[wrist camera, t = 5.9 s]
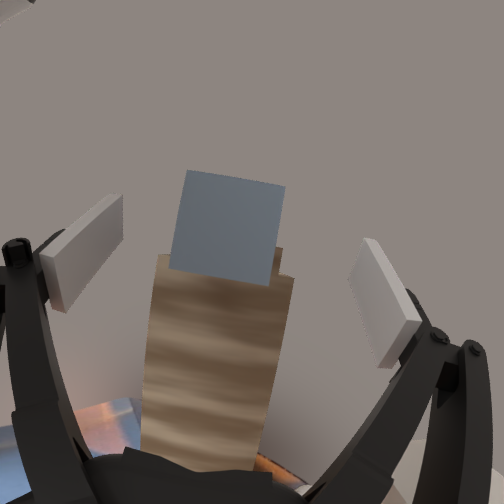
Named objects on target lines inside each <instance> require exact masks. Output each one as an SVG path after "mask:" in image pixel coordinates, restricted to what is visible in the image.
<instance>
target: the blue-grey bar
mask: <svg viewBox="0 0 504 504" xmlns="http://www.w3.org/2000/svg"><path fill="white" fill-rule="evenodd" d="M284 192H285V186H280V185H275V184H269V183H264V182H259V181H253V180H247V179H242V178H236V177H230V176H224V175H217V174H212V173H205V172H199V171H191V170H187V173H186V177H185V182H184V187H183V192H182V196H181V201H180V206H179V211H178V216H177V222H176V227H175V232H174V238H173V244H172V249H171V255H170V261H169V269H174V270H179V271H185V272H190V273H195V274H201V275H207V276H212V277H218V278H223V279H229V280H235V281H241V282H247V283H253V284H259V285H265V286H269V281H270V276H271V270H272V264H273V258H274V253H275V247H276V241H277V234H278V229H279V223H280V217H281V211H282V205H283V198H284Z"/></svg>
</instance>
